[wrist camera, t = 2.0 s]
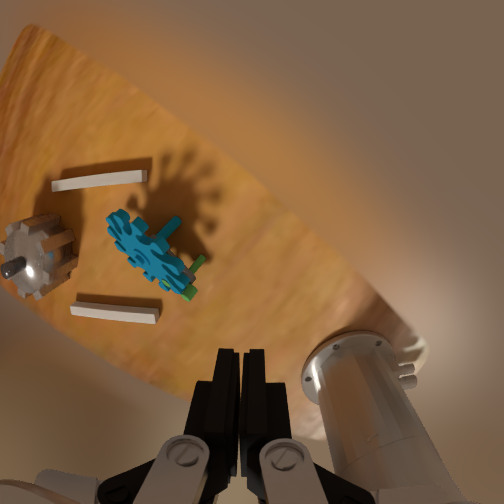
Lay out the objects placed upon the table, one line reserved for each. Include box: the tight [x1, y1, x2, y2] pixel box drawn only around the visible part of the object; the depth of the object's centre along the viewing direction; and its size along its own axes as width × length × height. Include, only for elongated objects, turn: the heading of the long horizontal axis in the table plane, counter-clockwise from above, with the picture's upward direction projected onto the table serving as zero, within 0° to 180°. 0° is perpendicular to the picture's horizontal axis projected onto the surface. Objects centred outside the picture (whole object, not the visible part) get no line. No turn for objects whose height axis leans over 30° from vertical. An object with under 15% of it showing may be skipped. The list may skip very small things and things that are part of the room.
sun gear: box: [0, 213, 78, 301], centre depth 24 cm, size 9×9×9 cm
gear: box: [106, 209, 206, 302], centre depth 26 cm, size 11×6×10 cm
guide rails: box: [52, 170, 160, 324], centre depth 28 cm, size 12×16×2 cm
